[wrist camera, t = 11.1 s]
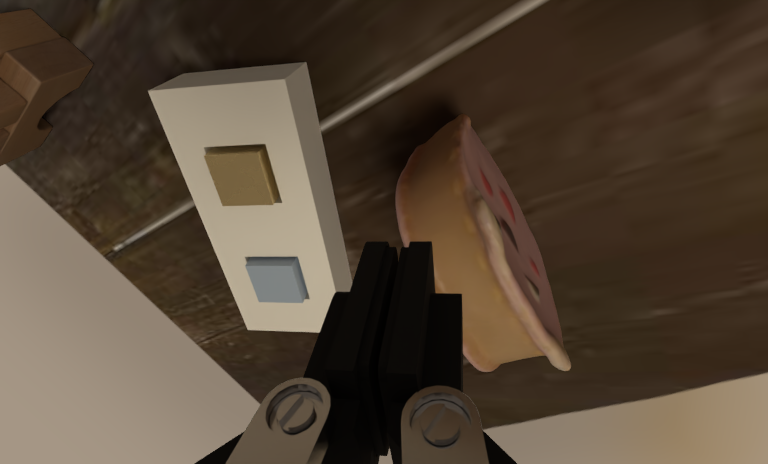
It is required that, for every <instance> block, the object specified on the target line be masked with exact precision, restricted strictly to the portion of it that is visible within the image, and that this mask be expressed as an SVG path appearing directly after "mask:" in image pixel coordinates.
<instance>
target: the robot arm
mask: <svg viewBox="0 0 768 464" xmlns="http://www.w3.org/2000/svg"><path fill="white" fill-rule="evenodd" d="M389 446H390V451H391V455H392V460H393V464H517V463H516V462H515V461H514V460H513V459H512V458H511V457H510V456H508V454H506V453H505V451H503V450H502V449H501V448H500V447H499V446H498V445H497V444H496V443H495V442H494V441H493V440H492V439H491V438H490V437H489V436H488V435H487V434H486V433H485V432H484V431H483V430H482V426H481V421H480V416H479V413H478V411H477V408H476V406H475V404H474V403H473V402H472V401H471V399H470V398H469V397H468V396H467V395H465V394H464V393H463V312H462V294H455V293H436V291H435V277H434V262H433V248H432V242H431V241H410V243H409V247H402V248H401V252H400V257H399V262H398V256H397V249H396V247H389V243H388V242H366V243H365V246H364V249H363V252H362V255H361V258H360V261H359V264H358V267H357V271H356V274H355V277H354V280H353V283H352V286H351V289H350V292H336V293H335V294H334V296H333V298H332V300H331V303H330V306H329V308H328V311H327V314H326V317H325V319H324V322H323V325H322V328H321V330H320V333H319V336H318V339H317V341H316V344H315V347H314V350H313V352H312V355H311V358H310V360H309V363H308V366H307V369H306V371H305V374H304V377H303V378H296V379H292V380H288V381H286V382H284V383H282V384H280V385H278V386H277V387H276V388H275V389H273V390H272V391H271V392H270V393H269V394H268V395H267V396H266V398H265V399H264V400H263V402H262V403H261V405H260V407H259V409H258V410H257V412H256V414H255V415H254V417H253V418H252V420H251V422H250V424H249V425H248V427H247V428H246V430H245V431H244V432H243V433H241V434H240V435H238V436H237V437H235V438H234V439H232V440H230V441H229V442H227V443H226V444H225V445H223V446H221V447H220V448H218V449H217V450H215V451H213V452H212V453H210V454H209V455H207V456H206V457H204V458H203V459H201V460H199V461H198V462H196V463H195V464H378V462H379V456H380V455H381V456H387V454H388V450H389Z"/></svg>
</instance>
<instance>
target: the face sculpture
mask: <svg viewBox="0 0 768 464" xmlns="http://www.w3.org/2000/svg"><path fill="white" fill-rule="evenodd" d="M395 194H396V196H395V204H396V214H397V219H398V226H399V231H400V235H401V238H402V241H403V244H404V247H409V243H410V241H431V242H432V248H433V262H434V277H435V291H436V293H455V294H462V312H463V354H464V355H465V357H466V358H467V359H468V360H469V362H470V363H471V364H472V365H473V366H474V367H475V368H477V369H478V370H480V371H483V372H490V371H493V370H494V369H496V368H497V367H498V366H499V365H500V364H501V363H506V362H511V361H515V360H520V359H524V358H530V357H536V356H547V357H548V359H549V360H550V362H551V364H552V365H553V366H555V367H556V368H558V369H559V370H563V371H568V370H570V368H571V363H570V360H569V357H568V355H567V353H566V351H565V349H564V348H563V342H562V334H561V328H560V324H559V320H558V316H557V311H556V307H555V304H554V300H553V297H552V292H551V288H550V284H549V282H548V279H547V275H546V271H545V268H544V264H543V260H542V257H541V254H540V251H539V249H538V246H537V243H536V241H535V239H534V236H533V234H532V232H531V231H530V229H529V226H528V224H527V222H526V220H525V218H524V215H523V213H522V211H521V209H520V207H519V205H518V203H517V201H516V199H515V197H514V195H513V193H512V191H511V189H510V187H509V186H508V184H507V182H506V180H505V178H504V177H503V175H502V173H501V172H500V170H499V169H498V167H497V165H496V163H495V162H494V160H493V159H492V157H491V155H490V154H489V152H488V151H487V149H486V148H485V146H484V145H483V144H482V142H481V140H480V139H479V137H478V136H477V134H476V133H475V131H474V129H473V128H472V127H471V121H470V118H469V117H468V116H467V115H465V114H460V115H459V116H457V118H456V119H454V120H453V121H450V122H449V123H447V124H446V125H445V126H443V127H442V128H441V129H440V130H439V131H438V132H436V133H435V134H434V135H433V136H432V137H431V138H430V139H429V140H428V141H427V142H426V143H424V144H422V145H419V146H417V147H416V148H415V150H414V152H413V153H412V155H411V156H410V158H409V160H408V162H407V164H406V166H405V168H404V170H403V171H402V173H401V175H400V177H399V180H398V182H397V187H396V193H395Z"/></svg>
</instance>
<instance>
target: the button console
mask: <svg viewBox="0 0 768 464" xmlns="http://www.w3.org/2000/svg"><path fill="white" fill-rule="evenodd" d="M148 93H149V95H150V97H151V100H152V102H153V105H154V107H155V109H156V112H157V114H158V116H159V119H160V121H161V124H162V126H163V128H164V131H165V133H166V136H167V138H168V140H169V143H170V145H171V147H172V150H173V152H174V155H175V157H176V159H177V162H178V164H179V167H180V169H181V171H182V174H183V176H184V179H185V181H186V183H187V186H188V188H189V190H190V193H191V195H192V198H193V200H194V202H195V205H196V207H197V210H198V212H199V214H200V217H201V219H202V221H203V224H204V226H205V229H206V231H207V233H208V236H209V238H210V241H211V243H212V245H213V248H214V250H215V252H216V255H217V257H218V260H219V262H220V264H221V267H222V269H223V272H224V274H225V276H226V279H227V281H228V284H229V286H230V288H231V291H232V293H233V295H234V298H235V300H236V303H237V305H238V307H239V310H240V312H241V315H242V317H243V319H244V322H245V324H246V326H247V329H248V330H266V331H294V332H320V330H321V328H322V325H323V322H324V319H325V317H326V314H327V311H328V308H329V306H330V303H331V300H332V298H333V296H334V294H335V293H336V292H350V289H351V286H352V279H351V274H350V269H349V264H348V260H347V255H346V250H345V245H344V240H343V236H342V231H341V226H340V221H339V216H338V212H337V207H336V202H335V197H334V192H333V188H332V183H331V178H330V173H329V168H328V164H327V159H326V154H325V149H324V144H323V140H322V135H321V130H320V125H319V120H318V116H317V111H316V106H315V101H314V96H313V92H312V87H311V82H310V77H309V72H308V68H307V63H306V62H301V63H290V64H280V65H269V66H258V67H248V68H237V69H226V70H215V71H205V72H194V73H184V74H182V75H179V76H177V77H175V78H173V79H171V80H169V81H167V82H165V83H163V84H161V85H159V86H157V87H155V88H153V89H151V90H149V91H148ZM253 144H265V145H266V148H267V152H268V155H269V159H270V162H271V166H272V169H273V173H274V176H275V179H276V183H277V186H278V190H279V193H280V196H279V197H278V199H277V200H276V202H275V203H274V204H273V205H250V206H222V203H221V201H220V198H219V195H218V193H217V190H216V187H215V185H214V182H213V179H212V177H211V174H210V172H209V169H208V166H207V164H206V161H205V158H204V155H205V154H207V153H208V152H209V151H210V150H211V149H213V148H214V147H216V146H235V145H253ZM251 257H298V259H299V263H300V266H301V270H302V273H303V277H304V280H305V284H306V287H307V290H308V293H307V295H306V297H305V299H304V302H303V303H275V302H259V301H258V298H257V296H256V293H255V290H254V288H253V285H252V282H251V280H250V277H249V275H248V272H247V269H246V267H245V265H246V264H247V262H248V261H249V259H250V258H251Z"/></svg>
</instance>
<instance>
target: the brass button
mask: <svg viewBox="0 0 768 464" xmlns="http://www.w3.org/2000/svg"><path fill="white" fill-rule="evenodd" d="M204 158H205V161H206V164H207V166H208V169H209V172H210V174H211V177H212V179H213V182H214V185H215V187H216V190H217V193H218V195H219V198H220V201H221V203H222V206H250V205H273V204H274V203H275V202H276V200H277V199H278V197H279V196H280V193H279V190H278V186H277V183H276V179H275V176H274V173H273V169H272V166H271V162H270V159H269V155H268V152H267V148H266V145H265V144H253V145H235V146H216V147H214V148H213V149H211V150H210V151H209V152H208V153H207V154H205V155H204Z"/></svg>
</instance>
